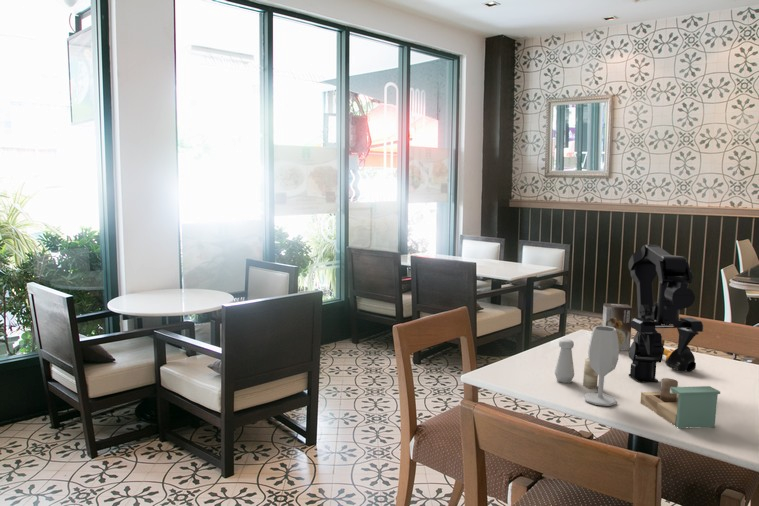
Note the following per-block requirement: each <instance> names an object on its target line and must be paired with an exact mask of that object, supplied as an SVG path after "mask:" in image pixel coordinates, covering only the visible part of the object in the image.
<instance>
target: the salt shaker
mask: <svg viewBox="0 0 759 506" xmlns="http://www.w3.org/2000/svg"><path fill="white" fill-rule="evenodd" d="M558 346H559V348H560V351H559V355H558V358H557V362H556V366H555V369H554V375H555V379H556V381H558V382H560V383H562V384H569V383H571V382H572V381H573V379H574V377H575V365H574V359H573V350H572V349H574V348H575V347H574V346H575V343H574V341H573V340H572V339H569V338H562V339H560V340H559V341H558Z"/></svg>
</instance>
